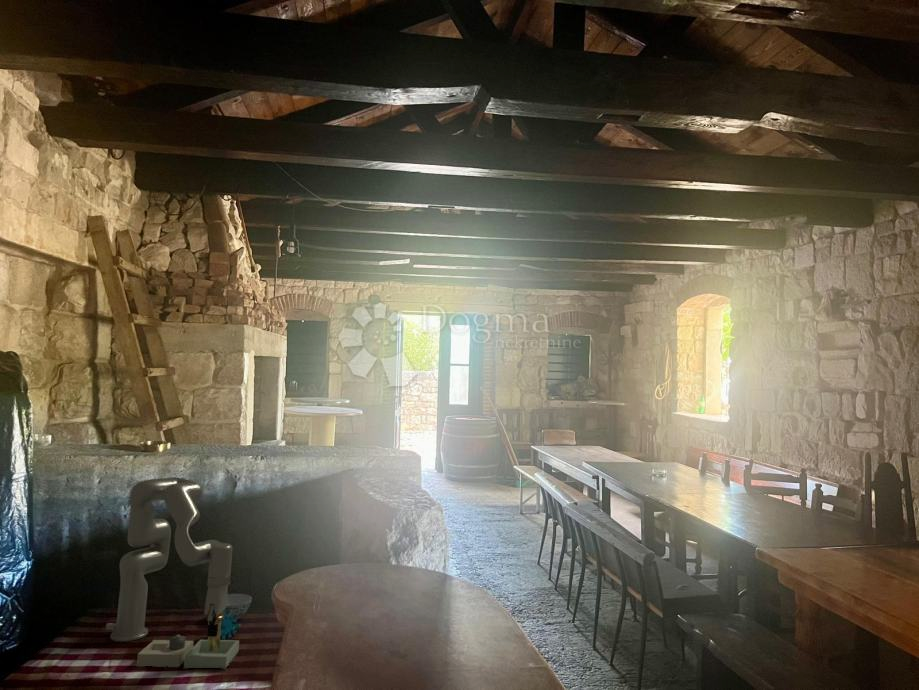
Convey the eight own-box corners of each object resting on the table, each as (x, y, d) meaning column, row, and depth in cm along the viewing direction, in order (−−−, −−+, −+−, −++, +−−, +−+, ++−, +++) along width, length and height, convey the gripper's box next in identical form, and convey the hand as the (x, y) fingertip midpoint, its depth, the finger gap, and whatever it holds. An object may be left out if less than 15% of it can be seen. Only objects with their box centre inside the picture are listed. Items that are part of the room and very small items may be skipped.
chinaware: (212, 614, 247) (213, 595, 248) (249, 610, 253) (250, 592, 253) (212, 626, 233) (214, 607, 234) (251, 623, 239) (253, 603, 240)
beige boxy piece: (136, 666, 196) (139, 641, 197) (152, 651, 208) (155, 628, 209) (178, 667, 197) (181, 642, 198) (192, 652, 209) (194, 629, 210)
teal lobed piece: (210, 638, 218) (213, 612, 225) (206, 645, 221) (209, 619, 228) (240, 638, 223) (242, 613, 230) (236, 645, 226) (238, 620, 233)
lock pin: (203, 651, 201) (205, 618, 202) (208, 645, 206) (211, 613, 207) (218, 651, 201) (221, 618, 203) (223, 645, 207) (225, 613, 208)
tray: (183, 668, 196) (184, 656, 197) (199, 651, 210) (200, 639, 210) (225, 669, 197) (226, 656, 197) (238, 651, 211) (239, 640, 211)
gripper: (216, 573, 215) (212, 624, 212) (199, 586, 198) (194, 642, 196) (237, 573, 215) (232, 625, 213) (221, 587, 198) (217, 643, 196)
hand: (214, 632), depth 204 cm, fingers closed on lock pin, 4 cm apart
